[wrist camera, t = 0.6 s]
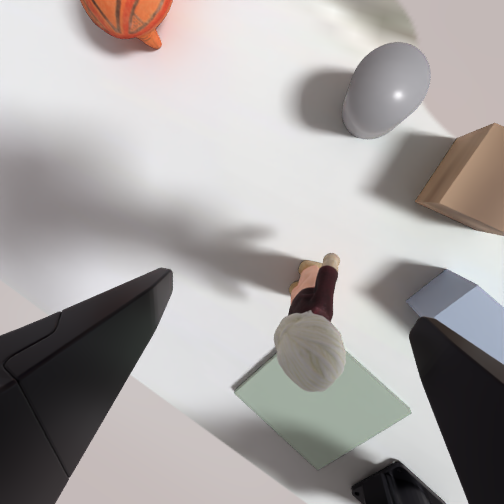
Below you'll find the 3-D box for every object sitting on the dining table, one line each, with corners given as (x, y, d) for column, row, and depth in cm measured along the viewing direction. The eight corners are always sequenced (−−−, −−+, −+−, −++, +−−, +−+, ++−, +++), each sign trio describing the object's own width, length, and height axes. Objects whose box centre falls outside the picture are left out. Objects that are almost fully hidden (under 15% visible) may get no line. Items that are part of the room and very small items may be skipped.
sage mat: (409, 407, 23) (411, 413, 22) (317, 464, 27) (317, 470, 26) (312, 320, 23) (312, 324, 23) (235, 389, 27) (234, 393, 26)
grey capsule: (419, 100, 18) (448, 74, 14) (371, 151, 19) (387, 140, 15) (373, 61, 18) (390, 25, 14) (329, 114, 19) (334, 94, 15)
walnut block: (524, 167, 17) (584, 159, 13) (475, 230, 19) (517, 238, 15) (455, 138, 18) (494, 122, 14) (413, 201, 19) (439, 202, 16)
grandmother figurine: (320, 321, 23) (330, 457, 11) (280, 308, 24) (249, 424, 12) (345, 243, 21) (393, 305, 9) (301, 232, 22) (290, 276, 10)
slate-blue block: (502, 318, 20) (549, 347, 16) (458, 347, 21) (491, 381, 17) (445, 268, 20) (477, 284, 16) (405, 300, 21) (426, 323, 17)
